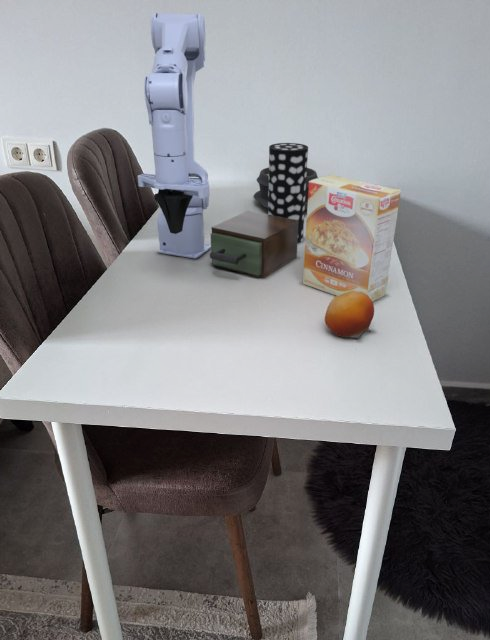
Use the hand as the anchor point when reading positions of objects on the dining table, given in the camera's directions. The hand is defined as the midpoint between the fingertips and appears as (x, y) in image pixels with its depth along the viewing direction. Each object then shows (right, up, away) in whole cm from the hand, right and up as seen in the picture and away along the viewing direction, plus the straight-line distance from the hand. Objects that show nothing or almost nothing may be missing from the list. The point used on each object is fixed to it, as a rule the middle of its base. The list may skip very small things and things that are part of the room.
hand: (176, 232), depth 105 cm
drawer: (+13, -3, +13) cm, 18 cm away
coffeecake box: (+32, -10, +4) cm, 33 cm away
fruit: (+30, -20, -9) cm, 37 cm away
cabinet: (+15, -2, +16) cm, 22 cm away
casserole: (+24, +23, +51) cm, 61 cm away
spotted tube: (+22, +7, +28) cm, 36 cm away
